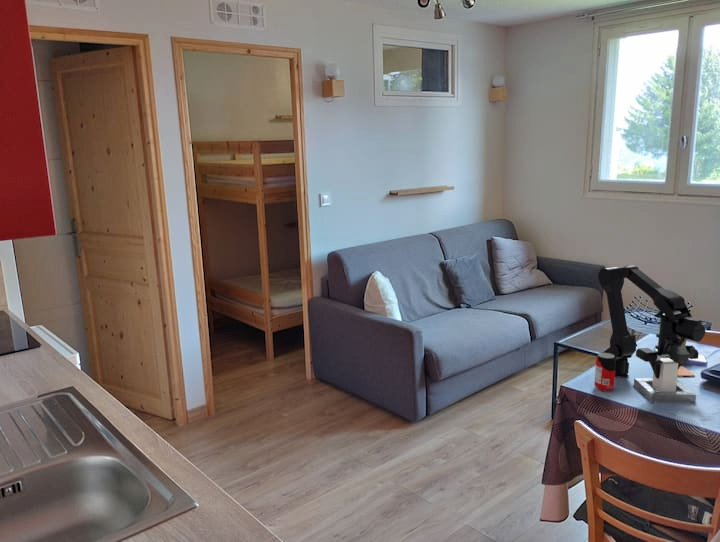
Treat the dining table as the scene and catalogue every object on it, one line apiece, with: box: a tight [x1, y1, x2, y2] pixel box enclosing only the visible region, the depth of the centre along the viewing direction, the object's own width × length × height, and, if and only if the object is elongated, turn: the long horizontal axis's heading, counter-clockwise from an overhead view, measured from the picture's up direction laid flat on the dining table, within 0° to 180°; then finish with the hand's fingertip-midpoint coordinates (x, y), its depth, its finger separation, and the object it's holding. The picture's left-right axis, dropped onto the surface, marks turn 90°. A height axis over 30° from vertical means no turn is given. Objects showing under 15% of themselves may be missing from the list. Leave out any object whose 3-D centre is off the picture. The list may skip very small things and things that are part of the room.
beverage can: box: [593, 352, 616, 392], centre depth 194 cm, size 6×6×12 cm
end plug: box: [652, 357, 678, 392], centre depth 189 cm, size 5×5×10 cm
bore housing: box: [633, 377, 697, 403], centre depth 190 cm, size 14×14×2 cm
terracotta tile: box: [677, 365, 696, 378], centre depth 208 cm, size 9×9×1 cm
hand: (664, 377), depth 189 cm, fingers closed on end plug, 5 cm apart
